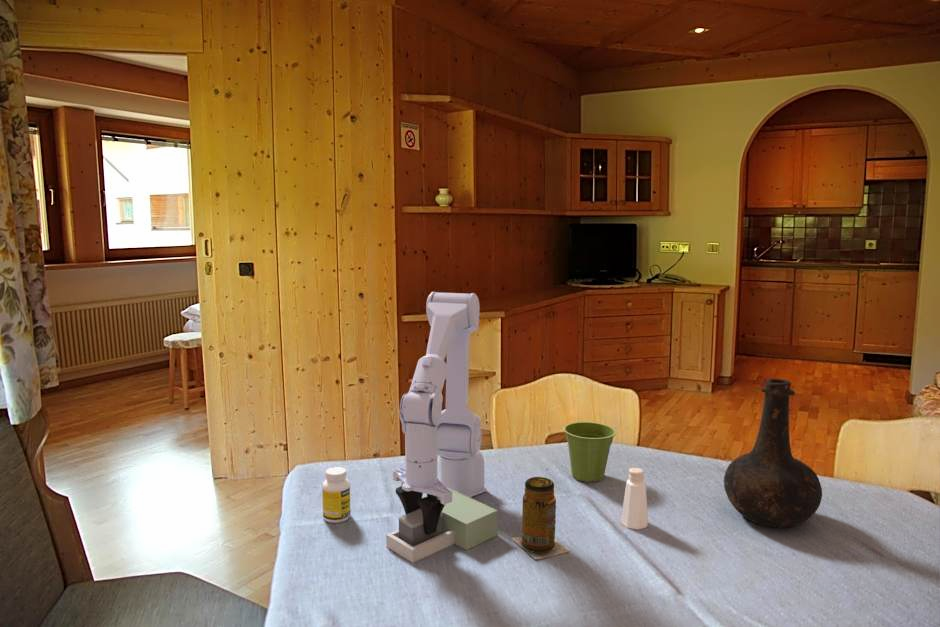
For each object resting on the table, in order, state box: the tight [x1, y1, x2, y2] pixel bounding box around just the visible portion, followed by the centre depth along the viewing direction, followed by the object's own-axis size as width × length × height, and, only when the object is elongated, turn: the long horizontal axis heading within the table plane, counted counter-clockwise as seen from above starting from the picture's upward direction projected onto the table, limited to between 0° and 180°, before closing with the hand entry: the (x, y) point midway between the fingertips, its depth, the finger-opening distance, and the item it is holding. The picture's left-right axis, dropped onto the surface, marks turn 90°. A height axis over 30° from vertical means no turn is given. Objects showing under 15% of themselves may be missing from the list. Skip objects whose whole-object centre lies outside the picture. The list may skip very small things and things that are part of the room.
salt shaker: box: [620, 467, 649, 530], centre depth 130 cm, size 5×5×11 cm
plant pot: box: [562, 421, 617, 483], centre depth 152 cm, size 12×12×11 cm
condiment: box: [511, 476, 570, 560], centre depth 121 cm, size 7×8×12 cm
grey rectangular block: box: [398, 509, 443, 547], centre depth 121 cm, size 7×4×5 cm, turn 133°
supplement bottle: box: [321, 466, 351, 524], centre depth 132 cm, size 5×5×10 cm
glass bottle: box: [723, 378, 823, 528], centre depth 131 cm, size 18×18×28 cm
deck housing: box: [385, 488, 498, 564], centre depth 124 cm, size 18×14×5 cm
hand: (422, 528), depth 122 cm, fingers open, 4 cm apart
